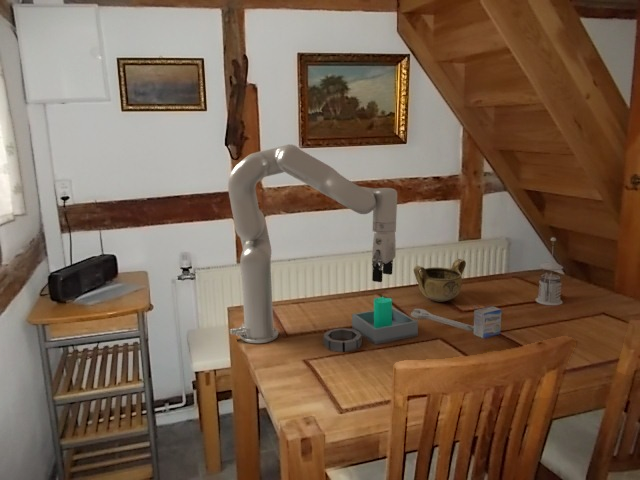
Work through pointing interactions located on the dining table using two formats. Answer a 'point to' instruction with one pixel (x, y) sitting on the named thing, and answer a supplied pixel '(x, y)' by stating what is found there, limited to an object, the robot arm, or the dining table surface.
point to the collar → (341, 346)
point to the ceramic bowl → (440, 281)
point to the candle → (382, 312)
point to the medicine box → (487, 322)
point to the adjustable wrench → (440, 319)
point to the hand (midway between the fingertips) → (382, 277)
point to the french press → (549, 284)
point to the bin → (398, 330)
